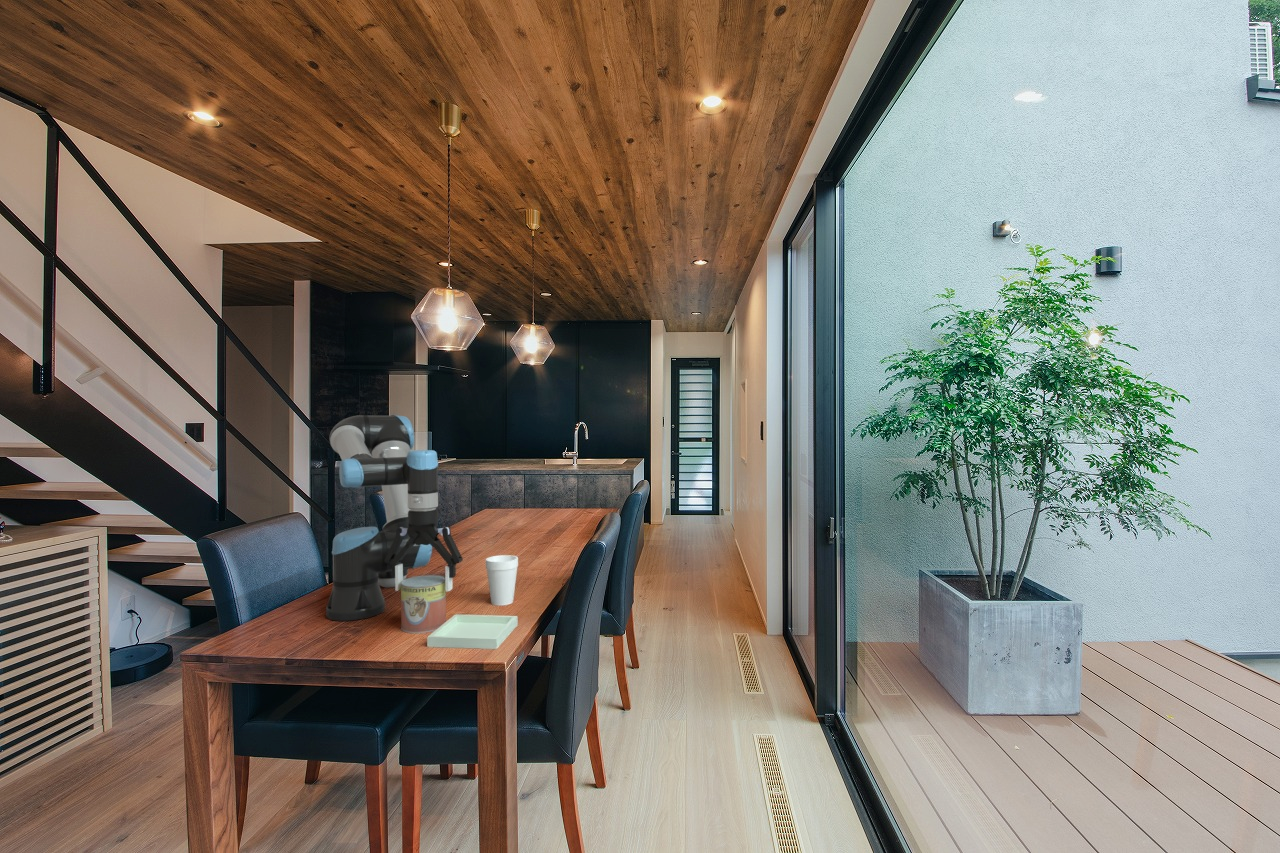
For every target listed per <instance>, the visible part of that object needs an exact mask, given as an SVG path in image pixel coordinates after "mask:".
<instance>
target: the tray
mask: <svg viewBox="0 0 1280 853" xmlns="http://www.w3.org/2000/svg"><path fill="white" fill-rule="evenodd" d="M518 619H519V618H518V615H494V614H493V615H491V614H490V615H488V614H459V613H458V614H454V615H453V616H451V617H450V618H449V619H447V620H446V622H445V623H444V624H443V625H441V626H440V627H439V628H438V629H436V630H435V631H432V632H431V633H430V634H429V635H428V636H427V639H426V640H427V642H426V643H427V644H426V645H427V648H446V649H447V648H450V649H455V648H456V649H479V650H480V649H482V650H483V649H484V650H497V649H498V648H499V647H500V646H501V645H502V644H503V642H504V641H505V640H506V639H507V638H508V637H509V636H510V634H511V633H512V632H513V631H514V630H515V629H516V628H517V627H518V625H519V624H518Z"/></svg>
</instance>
